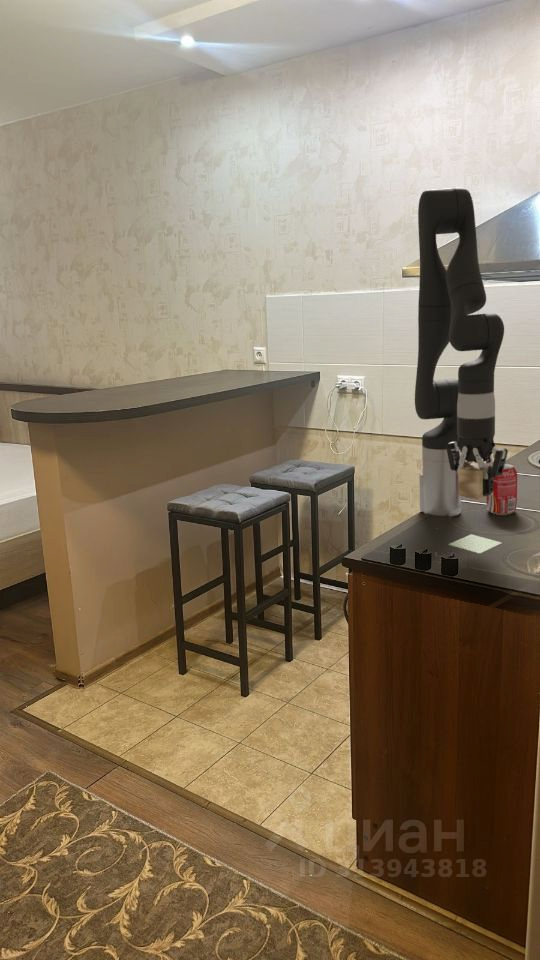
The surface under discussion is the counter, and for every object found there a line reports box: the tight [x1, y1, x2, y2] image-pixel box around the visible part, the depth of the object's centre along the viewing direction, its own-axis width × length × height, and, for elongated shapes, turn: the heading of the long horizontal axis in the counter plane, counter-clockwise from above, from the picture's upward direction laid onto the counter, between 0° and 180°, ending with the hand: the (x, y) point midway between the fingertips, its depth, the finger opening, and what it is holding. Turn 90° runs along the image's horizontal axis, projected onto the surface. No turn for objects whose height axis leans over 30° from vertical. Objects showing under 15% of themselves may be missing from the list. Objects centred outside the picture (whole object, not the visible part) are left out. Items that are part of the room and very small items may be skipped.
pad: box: [448, 533, 503, 555], centre depth 149 cm, size 8×8×1 cm
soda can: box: [486, 461, 518, 516], centre depth 167 cm, size 7×7×12 cm
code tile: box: [434, 551, 456, 558], centre depth 144 cm, size 6×6×1 cm
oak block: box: [459, 463, 493, 501], centre depth 145 cm, size 5×5×6 cm
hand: (475, 492), depth 145 cm, fingers closed on oak block, 5 cm apart
